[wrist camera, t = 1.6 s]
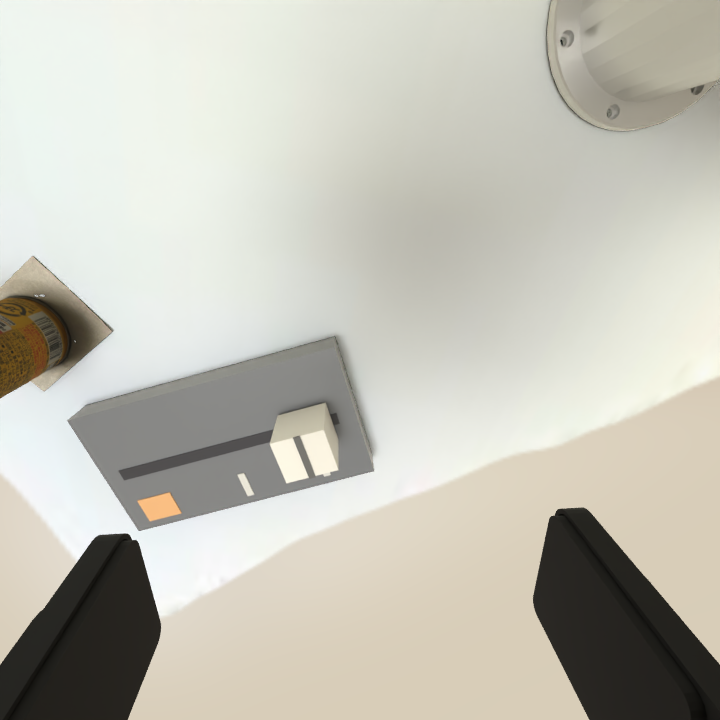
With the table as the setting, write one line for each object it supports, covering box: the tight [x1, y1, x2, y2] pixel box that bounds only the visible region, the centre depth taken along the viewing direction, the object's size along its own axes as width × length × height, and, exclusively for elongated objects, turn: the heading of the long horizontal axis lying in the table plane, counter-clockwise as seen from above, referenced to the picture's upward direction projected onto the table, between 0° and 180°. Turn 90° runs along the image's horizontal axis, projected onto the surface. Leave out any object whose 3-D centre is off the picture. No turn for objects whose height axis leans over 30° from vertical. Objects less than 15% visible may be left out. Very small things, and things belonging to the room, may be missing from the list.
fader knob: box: [270, 403, 338, 483], centre depth 30 cm, size 4×4×4 cm
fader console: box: [67, 337, 374, 531], centre depth 34 cm, size 22×12×3 cm, turn 105°
